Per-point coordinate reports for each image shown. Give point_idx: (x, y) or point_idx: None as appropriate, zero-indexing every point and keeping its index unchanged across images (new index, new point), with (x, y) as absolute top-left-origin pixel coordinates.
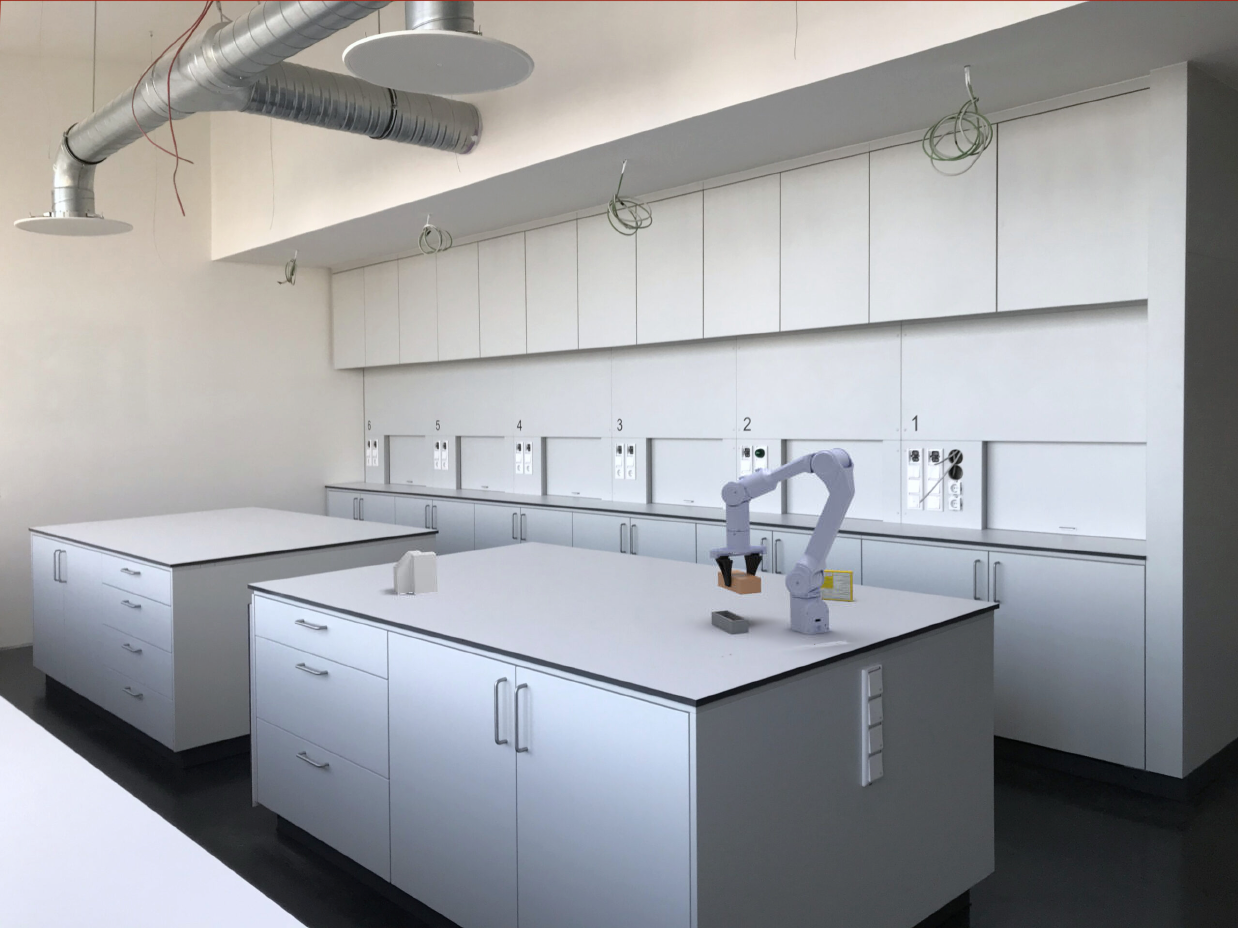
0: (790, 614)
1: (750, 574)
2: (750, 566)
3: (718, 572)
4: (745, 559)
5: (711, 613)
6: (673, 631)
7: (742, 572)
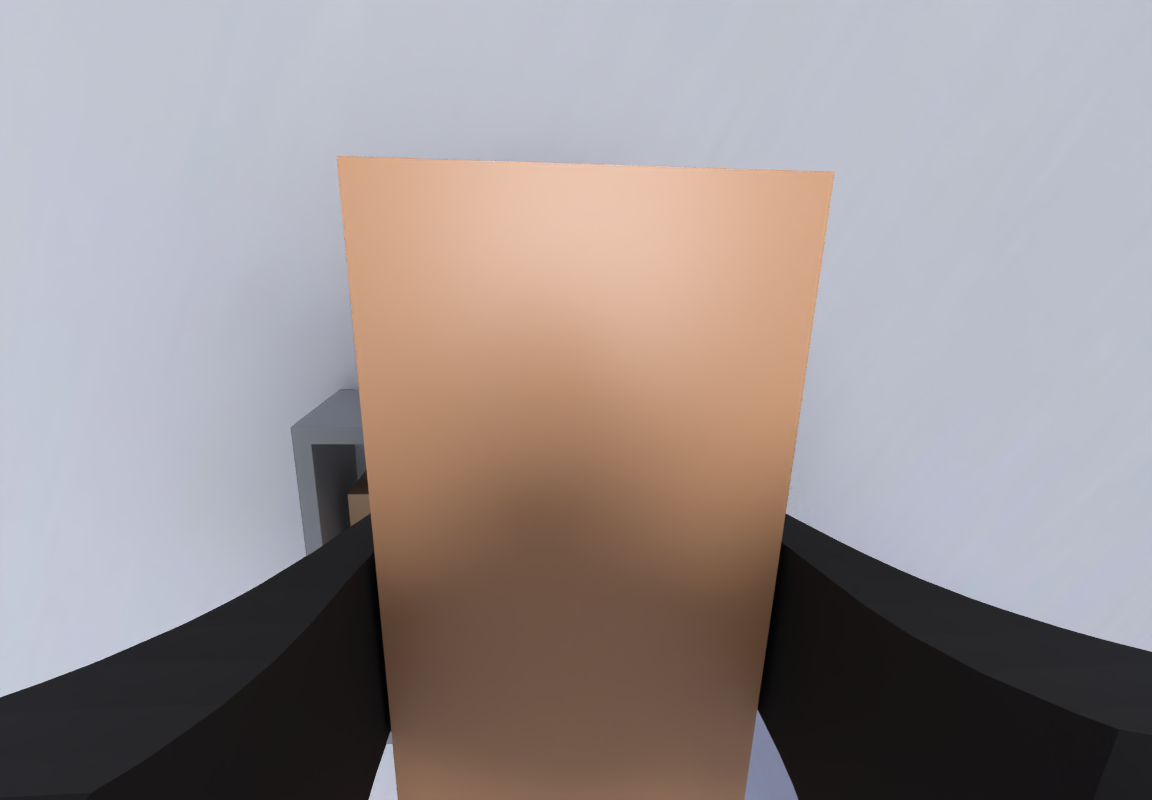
0: (752, 762)
1: (748, 706)
2: (845, 793)
3: (345, 199)
4: (989, 720)
5: (297, 422)
6: (38, 356)
7: (745, 499)
